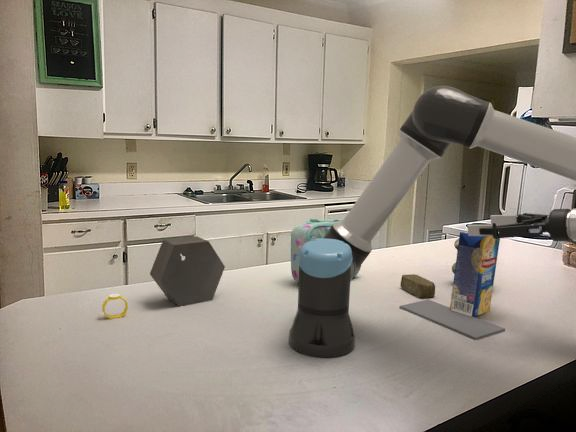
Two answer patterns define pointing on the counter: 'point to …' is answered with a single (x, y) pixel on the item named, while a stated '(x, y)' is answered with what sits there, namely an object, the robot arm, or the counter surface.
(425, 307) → the mat
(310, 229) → the lunch box
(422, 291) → the stone block
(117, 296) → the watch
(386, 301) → the counter surface
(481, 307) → the beverage box
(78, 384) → the counter surface
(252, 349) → the counter surface
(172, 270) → the planter
